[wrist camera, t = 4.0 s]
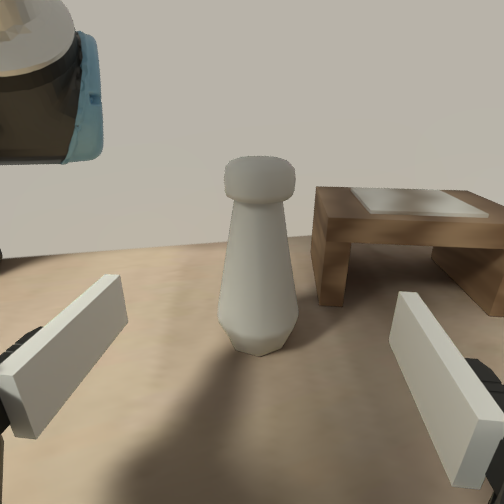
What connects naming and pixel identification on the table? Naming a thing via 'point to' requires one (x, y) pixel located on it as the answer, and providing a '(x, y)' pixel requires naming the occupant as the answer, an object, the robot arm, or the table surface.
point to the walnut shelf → (411, 236)
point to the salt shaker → (258, 256)
